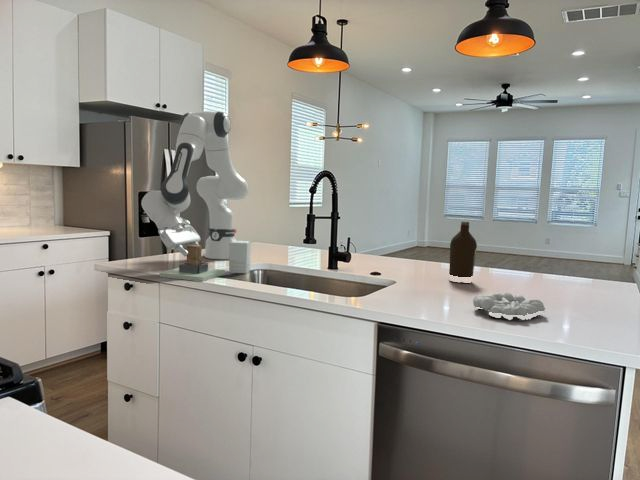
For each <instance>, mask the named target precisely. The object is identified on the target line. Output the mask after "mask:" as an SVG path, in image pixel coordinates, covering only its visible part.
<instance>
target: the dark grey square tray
mask: <svg viewBox="0 0 640 480" xmlns="http://www.w3.org/2000/svg"><path fill="white" fill-rule="evenodd" d="M178 268H179V272H182V273H192V274H200V273H203V272H206V271H208V268H209V263H208V262H202V261H201V265H198V266H195V265H187V261H186V262H181V263H179V265H178Z"/></svg>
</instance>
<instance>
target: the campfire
mask: <svg viewBox="0 0 640 480" xmlns="http://www.w3.org/2000/svg"><path fill="white" fill-rule="evenodd" d="M472 302H473V307H474V306H475V307H480V308H483V309H484V310H483V311H486V310H489V311H488V312H492V313H502V314H506V315H523V316H525V315H527V313H528V314H533V313H536V312H538V311H544V310H545V311H546V307H545V305H544V303H543V302H542V301H541V300H540V299H535V298H534V299H533V298H532V299H529V300H527V299H526V298H525V297H524V296H522V295H521V294H519V295H515V296H514V295H513V294H512V293H509V292H506V293H504V294H502V293H500V292H496V293H494V294H492V295H489V294H488V295H483V294H479V295H476V296H475V297H474V298H473V299H472ZM520 304H521V305H520ZM475 307H474V308H475ZM545 311H544V312H545Z"/></svg>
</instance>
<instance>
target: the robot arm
mask: <svg viewBox="0 0 640 480" xmlns="http://www.w3.org/2000/svg"><path fill="white" fill-rule="evenodd" d="M230 131H231V119H230V117H229V115H228V114H227V113H225V112H223V111H211V110H209V111H207V110H204V111H198V112H197V111H196V112H191V111H189V112H187V113H184V114H183V115H182V116H181V118H180V121H179V131H178V134H177V137H176V144H175V155H174V159H173V162H172V165H171V169H170V172H169V173H168V176H167V177H166V178H165V179H164V180H163V181H162V184H161V185H160V190H153V189H151V190H149V191H147V192H146V193H145V194H144V196H143V197H142V199H141V208H142V209H143V211H144V213H145V214H146V216H147V217H148V218H149V219H150V220H151V221H153V222H154V223H155V226H156V227H157V229H158V230H157V232H158V234H159V238H160V240H161V241H162V243H163V244H164V246H165V247H166V249H168V250H170V251H171V250H176V251H177V252H179V253H180V254H181V255H182V256H183V257H187V256H188V255H189V252H188V251H187V249H185V247H186V248H187V246H189V245H200V244H199V243H200V242H201V236H200V234H199V233H198V232H197V231H196V229H195V227H193V226H192V225H191V222H190V221H189V220H187V219H185V218H183V217H180V216H179V214H180V213H183V212H184V211H186V210H187V209H188V208H189V207H190V206H191V203H192V202H191V201H192V200H191V195H190V189H189V183H188V175H189V171H190V167H191V163H192V162H193V161H197V160H198V159H200V158H201V156H202V154H203V151H205V153H204V154H205V159H206V160H205V161H206V165H207V166H208V168H209V169H211V170H212V171H214V172H215V173H216V175H207V176H202V177H200V178H199V179H198V180H197V182H196V192H197V193H198V195H199V196H200V198H202V199H203V200H204V202H205V204H206V205H207V209H208V212H209V213H208V214H209V228H208V231H207V234H208V238H207V239H206V240H205V247H204V253H202V256H203V257H205V258H206V259H210V260H229V249H230V244H229V243H230V242H232V241H234V240H235V241H238V240H237V238H236V237H235V234H237V229H236V228H234V212H233V211H232V210H231V208H228V207H227V206H226V205H225V203H224V202H225V201H226V200H227V201H239V200H244V199H245V198H246V196H247V195H248V193H249V185H248V182H247V181H246V179H244V178H243V177H242V176H241V175H240V174H239V173H238V172H237V170H236V169H235V167H234V165H233V162H232V157H231V151H230V144H229V139H228V134H229V133H230ZM224 200H225V201H224ZM202 251H203V250H202V249H201V252H202Z"/></svg>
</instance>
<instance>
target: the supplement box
mask: <svg viewBox="0 0 640 480" xmlns="http://www.w3.org/2000/svg"><path fill="white" fill-rule="evenodd" d="M229 244H230V249H229V259H228V262H229V263H228V265H229V267H228V269H229V271H228V273H229V274H230V273H232V274H247V273H249V272H250V271H251V251H252V249H251V248H252V247H251V244H252V243H251V241H250V240H249V241H248V240H237V241H235V240H234V241H232V242H230V243H229Z"/></svg>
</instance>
